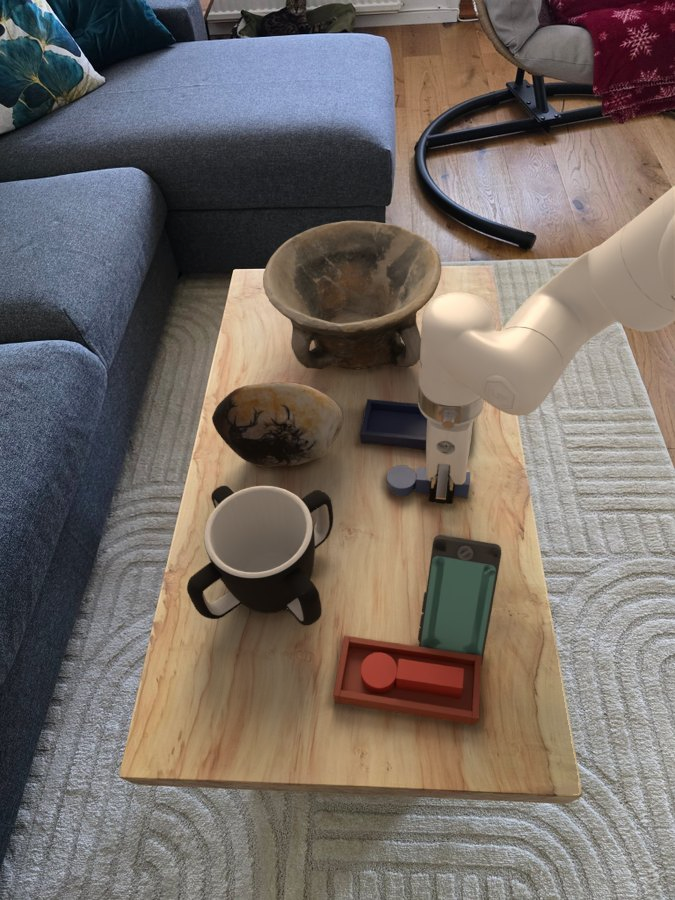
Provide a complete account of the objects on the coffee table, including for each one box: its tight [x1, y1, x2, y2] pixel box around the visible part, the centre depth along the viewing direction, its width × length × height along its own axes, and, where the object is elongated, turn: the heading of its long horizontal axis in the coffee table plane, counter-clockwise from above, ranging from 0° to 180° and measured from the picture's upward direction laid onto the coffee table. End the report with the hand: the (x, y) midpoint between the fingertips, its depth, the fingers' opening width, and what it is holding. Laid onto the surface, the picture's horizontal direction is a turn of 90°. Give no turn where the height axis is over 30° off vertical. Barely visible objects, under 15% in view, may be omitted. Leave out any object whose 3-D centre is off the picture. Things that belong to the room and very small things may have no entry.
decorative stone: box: [211, 381, 344, 467], centre depth 91 cm, size 18×9×15 cm, turn 90°
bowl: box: [262, 220, 442, 370], centre depth 106 cm, size 27×26×15 cm
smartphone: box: [417, 534, 502, 667], centre depth 74 cm, size 7×1×15 cm
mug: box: [186, 485, 334, 627], centre depth 80 cm, size 16×16×12 cm
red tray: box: [332, 635, 483, 726], centre depth 75 cm, size 15×7×2 cm, turn 80°
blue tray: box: [359, 398, 427, 451], centre depth 98 cm, size 15×7×2 cm, turn 80°
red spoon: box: [361, 652, 464, 698], centre depth 74 cm, size 11×4×3 cm, turn 80°
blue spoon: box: [386, 464, 471, 499], centre depth 91 cm, size 11×4×3 cm, turn 80°
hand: (441, 488), depth 92 cm, fingers open, 3 cm apart
